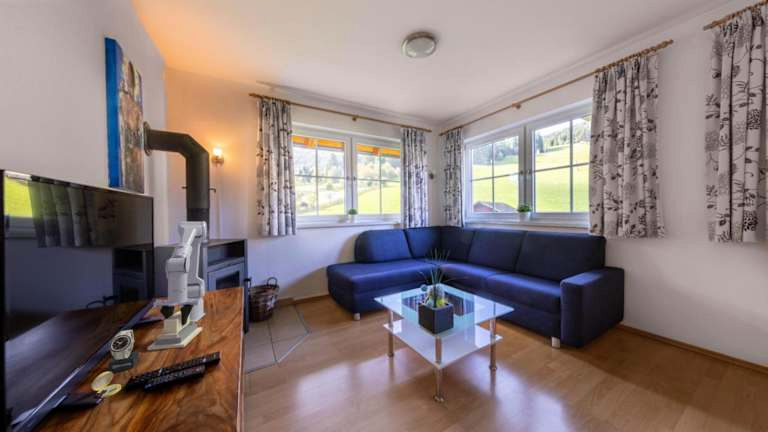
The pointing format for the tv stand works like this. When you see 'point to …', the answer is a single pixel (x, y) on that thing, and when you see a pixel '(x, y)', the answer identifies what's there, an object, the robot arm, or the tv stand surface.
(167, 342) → the display stand
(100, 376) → the gold round case
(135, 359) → the watch
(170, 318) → the cream rectangular box
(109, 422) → the tv stand surface
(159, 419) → the tv stand surface
